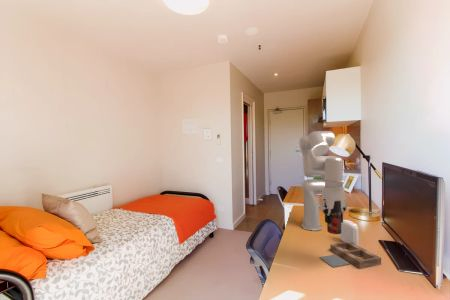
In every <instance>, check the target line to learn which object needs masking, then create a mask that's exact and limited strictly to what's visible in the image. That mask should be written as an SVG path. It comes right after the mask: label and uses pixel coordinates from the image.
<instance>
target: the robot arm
mask: <svg viewBox="0 0 450 300" xmlns="http://www.w3.org/2000/svg"><path fill="white" fill-rule="evenodd" d="M335 141H336V136H335V133H334V132H332V131H331V130H317V131H312V132H310V133H309V134H308V135H307V136H302V137H300V138H299V141H298V143H299V148H300V152H301V154H302V158H303V159H302V160H303V162H302V163H303V165H302V166H303V174H304V176H305V177H307V178H313V179H304V180H303V181H302V183H301V187H302V188H301V189H302V190H301V191H302V194H303V195H302V197H303V218H301V221H302V222H303V223H301V228H302V227H303V229H305V230H306V231H311V230H312V232H313V231H314V232H317V231H322V229H323V226H322V225H321V224H320V211H321V212H322V213H323V214H324V222H325V223H326V224H327V223H328V224H331V216H330V212H331V209H333V207H334V201H341V223H342V222H343V220H344V214H345V211H346V210H347V208H348V207H349V204H348V202H346V194H345V193H346V192H345V189H344V188H345V187H344V186H343V184H344V183H345V180H344V179H343V176H344V175H343V172H344V171H343V170H344V169H343V165H344V164H343V163H344V162H343V159H342V158H341V157H338V156H336V155H330V156H328V155H325V154H326V153H328V152H329V149H330V147H332V146H334V144H335ZM314 178H321V179H314ZM316 195H321V199H320V200H321V202H320V200H319V199H318V197H316ZM320 203H321V204H320ZM327 209H328V212H327Z"/></svg>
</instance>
